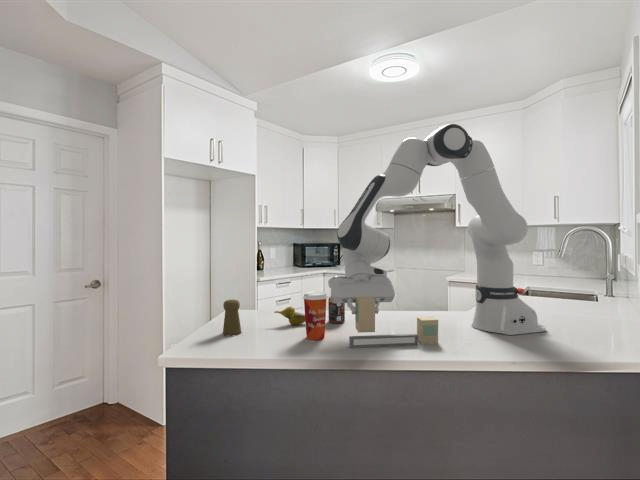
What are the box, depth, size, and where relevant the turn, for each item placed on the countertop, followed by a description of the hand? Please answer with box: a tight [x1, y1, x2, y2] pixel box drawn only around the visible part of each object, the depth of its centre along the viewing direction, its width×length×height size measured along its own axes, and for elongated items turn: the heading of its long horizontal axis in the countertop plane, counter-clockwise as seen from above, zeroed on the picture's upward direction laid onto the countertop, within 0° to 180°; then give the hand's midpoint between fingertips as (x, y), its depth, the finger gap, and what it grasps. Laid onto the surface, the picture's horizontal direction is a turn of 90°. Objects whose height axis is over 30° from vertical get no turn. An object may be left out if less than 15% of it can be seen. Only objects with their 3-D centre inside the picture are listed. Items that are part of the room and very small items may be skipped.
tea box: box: [416, 316, 439, 345], centre depth 112 cm, size 5×4×7 cm
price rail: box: [348, 333, 419, 349], centre depth 108 cm, size 20×1×3 cm, turn 95°
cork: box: [222, 299, 242, 337], centre depth 122 cm, size 6×6×11 cm
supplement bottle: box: [327, 296, 346, 324], centre depth 136 cm, size 6×6×11 cm
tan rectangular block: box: [354, 296, 376, 333], centre depth 114 cm, size 5×5×10 cm
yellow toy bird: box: [273, 306, 306, 326], centre depth 132 cm, size 4×15×6 cm, turn 98°
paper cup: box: [302, 290, 328, 341], centre depth 117 cm, size 8×8×14 cm
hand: (365, 313), depth 113 cm, fingers closed on tan rectangular block, 5 cm apart
